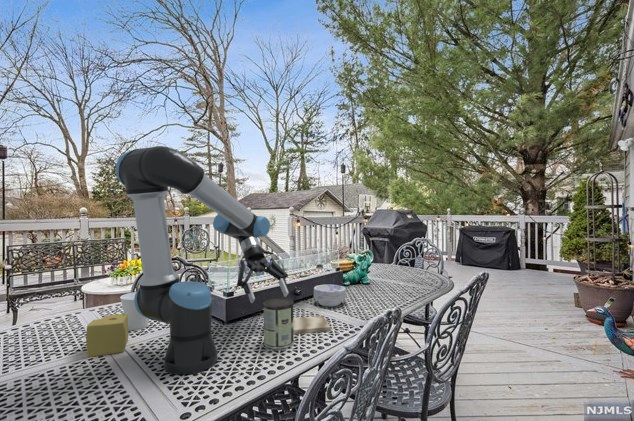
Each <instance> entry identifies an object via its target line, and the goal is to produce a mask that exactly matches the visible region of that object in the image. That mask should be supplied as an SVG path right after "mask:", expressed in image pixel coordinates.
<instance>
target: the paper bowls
mask: <svg viewBox="0 0 634 421" xmlns="http://www.w3.org/2000/svg"><path fill="white" fill-rule="evenodd" d="M346 292H347V291H346V287H345V286H344V285H338V284H320V285H319V284H318V285H315V286H314V287H313V298H314V299H315V300H317V303H318V304H319V305H321V306H323V307H331V308H332V307H337V306H340V305H341V303H342V301H345V300H346V298H347V297H346Z"/></svg>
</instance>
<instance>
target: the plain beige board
mask: <svg viewBox="0 0 634 421" xmlns="http://www.w3.org/2000/svg"><path fill="white" fill-rule="evenodd" d="M331 328H332V327H331V326H330V324H329V323H328V321H327V320H326V318H325V317H324V316H323V315H318V316H316V315H315V316H306V317H293V333H294V335H297V334H298V335H299V333H300V334H312V333H323V332H331V331H332V330H331Z"/></svg>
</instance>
